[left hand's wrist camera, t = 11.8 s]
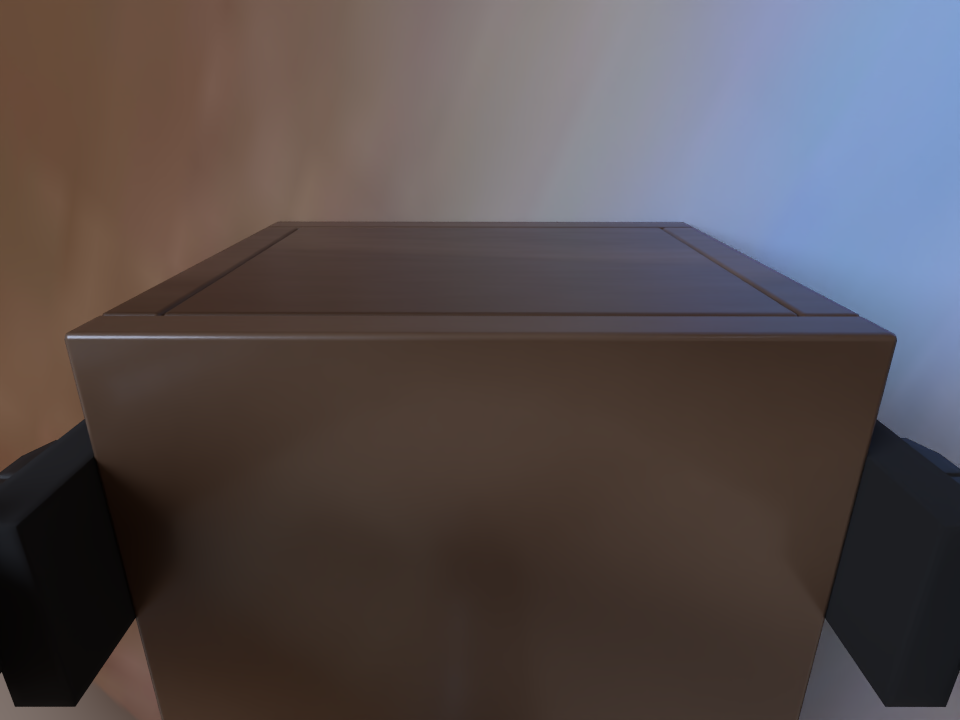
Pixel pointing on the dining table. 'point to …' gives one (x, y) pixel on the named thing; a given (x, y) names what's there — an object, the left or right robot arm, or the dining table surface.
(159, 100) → the dining table surface
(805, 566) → the cabinet
